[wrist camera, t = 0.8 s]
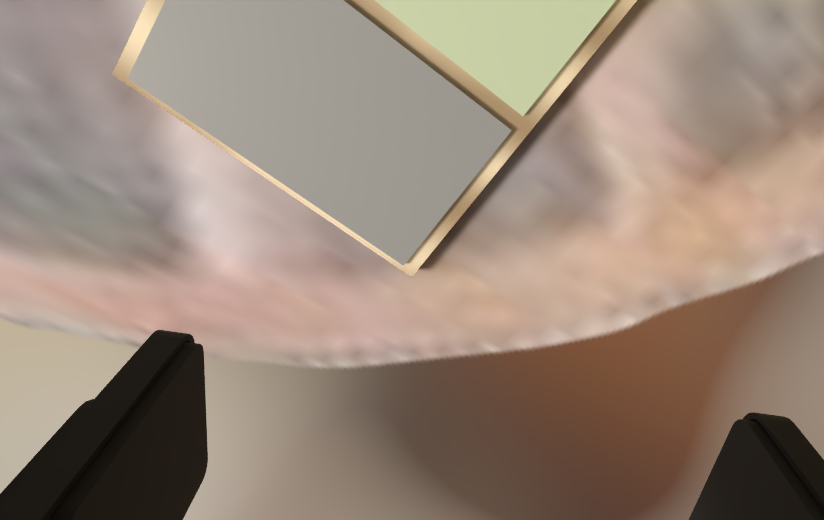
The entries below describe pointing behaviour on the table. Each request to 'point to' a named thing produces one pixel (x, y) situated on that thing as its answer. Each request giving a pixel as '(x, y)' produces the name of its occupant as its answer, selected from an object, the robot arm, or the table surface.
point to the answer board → (367, 96)
